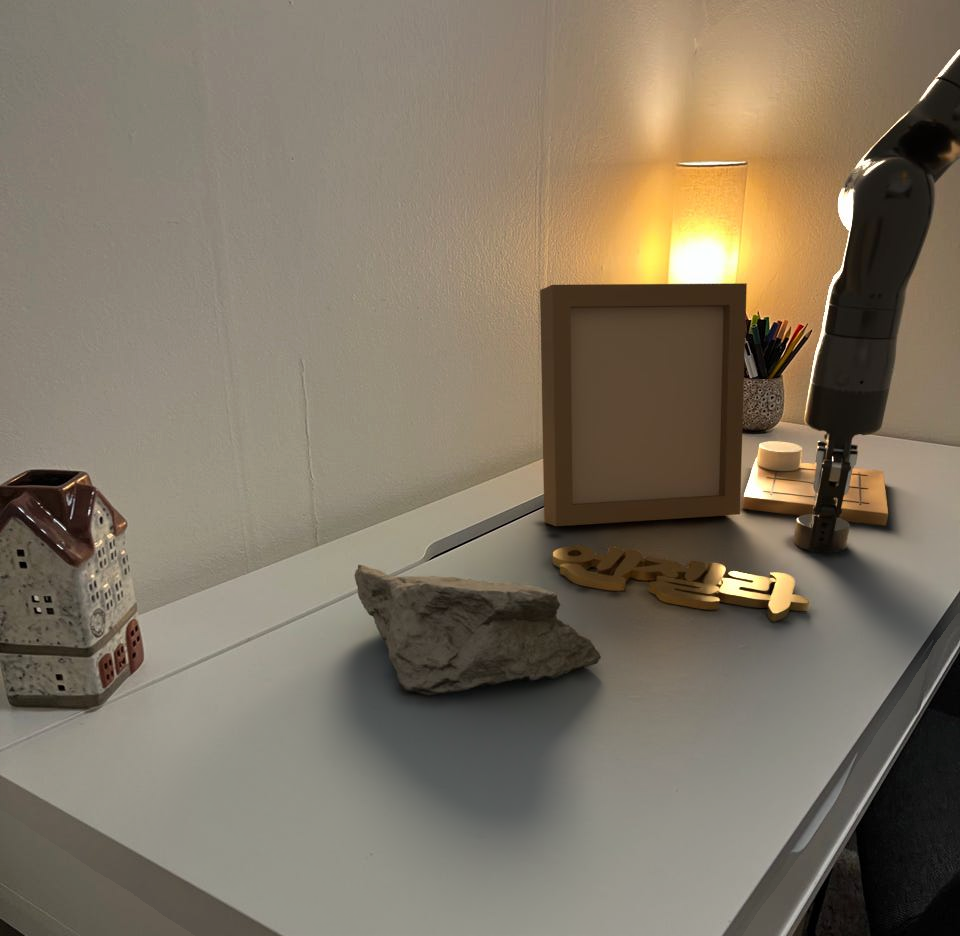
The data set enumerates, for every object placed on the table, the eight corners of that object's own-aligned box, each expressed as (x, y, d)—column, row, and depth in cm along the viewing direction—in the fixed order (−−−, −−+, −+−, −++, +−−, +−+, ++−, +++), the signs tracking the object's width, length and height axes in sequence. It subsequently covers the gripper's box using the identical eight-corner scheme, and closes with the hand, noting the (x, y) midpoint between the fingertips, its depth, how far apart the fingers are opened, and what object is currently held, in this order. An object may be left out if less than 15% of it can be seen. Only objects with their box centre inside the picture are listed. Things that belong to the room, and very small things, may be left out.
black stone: (845, 539, 104) (850, 517, 103) (845, 556, 100) (850, 533, 99) (794, 532, 106) (798, 511, 105) (791, 549, 101) (796, 526, 100)
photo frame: (738, 522, 108) (773, 289, 97) (555, 534, 104) (569, 291, 93) (684, 484, 121) (708, 274, 110) (519, 493, 117) (527, 275, 105)
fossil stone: (619, 653, 78) (616, 537, 73) (515, 744, 67) (504, 614, 62) (423, 610, 89) (410, 507, 84) (307, 681, 78) (285, 567, 74)
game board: (881, 482, 124) (883, 470, 123) (885, 526, 109) (888, 512, 108) (754, 468, 128) (756, 457, 128) (741, 508, 113) (743, 495, 112)
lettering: (534, 579, 92) (534, 570, 92) (566, 545, 100) (567, 537, 100) (803, 626, 84) (804, 617, 83) (813, 585, 92) (815, 576, 92)
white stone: (800, 462, 126) (803, 443, 125) (798, 473, 121) (801, 454, 120) (758, 457, 127) (761, 439, 126) (754, 468, 123) (757, 449, 122)
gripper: (893, 398, 88) (857, 568, 96) (887, 370, 100) (856, 524, 108) (808, 391, 90) (779, 558, 98) (813, 364, 102) (787, 515, 110)
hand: (819, 539), depth 103 cm, fingers closed on black stone, 5 cm apart
